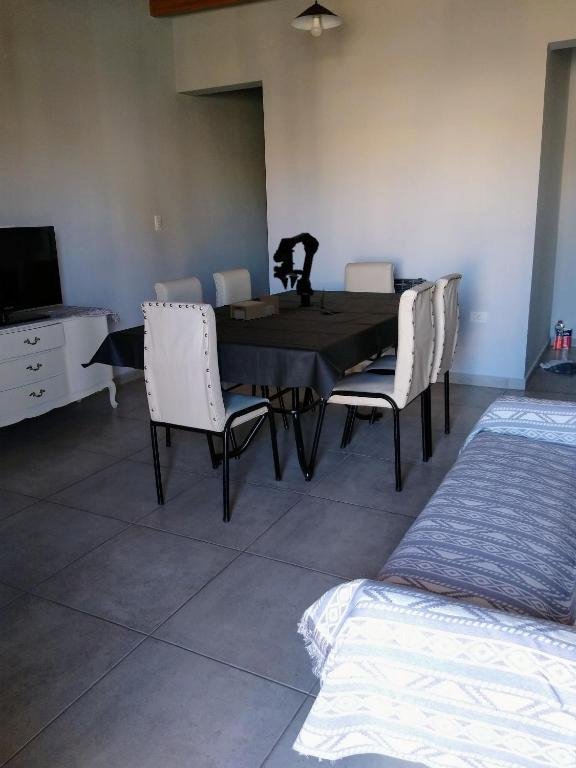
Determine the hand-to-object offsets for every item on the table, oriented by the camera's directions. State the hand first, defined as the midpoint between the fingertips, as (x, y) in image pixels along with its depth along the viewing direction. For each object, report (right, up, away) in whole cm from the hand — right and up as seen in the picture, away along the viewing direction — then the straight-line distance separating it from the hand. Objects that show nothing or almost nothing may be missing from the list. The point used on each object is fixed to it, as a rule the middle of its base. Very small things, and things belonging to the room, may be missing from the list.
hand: (288, 289), depth 355 cm
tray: (-18, -17, -13) cm, 28 cm away
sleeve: (-22, -18, -16) cm, 32 cm away
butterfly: (+22, -15, -11) cm, 29 cm away
